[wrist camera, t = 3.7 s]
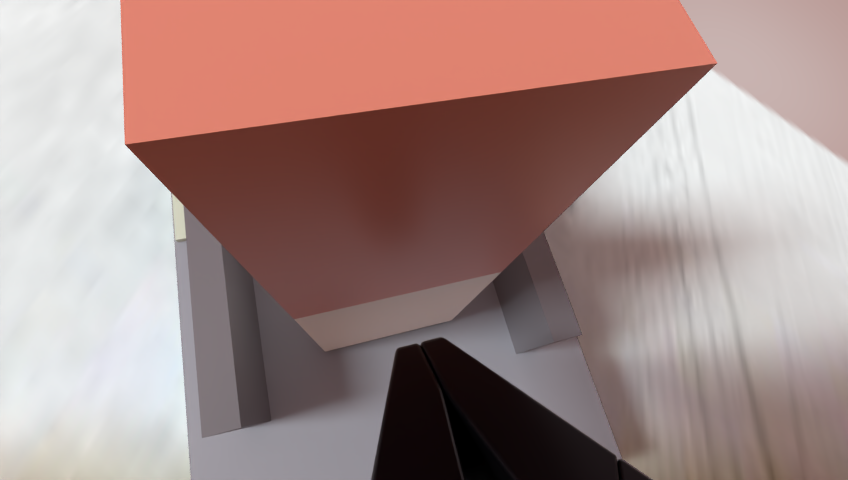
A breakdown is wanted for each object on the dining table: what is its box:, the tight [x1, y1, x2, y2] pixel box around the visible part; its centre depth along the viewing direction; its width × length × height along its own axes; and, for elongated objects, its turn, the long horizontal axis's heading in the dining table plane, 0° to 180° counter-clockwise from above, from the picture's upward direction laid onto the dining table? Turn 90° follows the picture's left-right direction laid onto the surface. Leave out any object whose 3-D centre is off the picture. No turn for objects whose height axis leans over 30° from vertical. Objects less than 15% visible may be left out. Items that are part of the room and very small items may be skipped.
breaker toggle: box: [121, 0, 717, 352], centre depth 8 cm, size 3×4×11 cm
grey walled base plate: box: [171, 193, 622, 480], centre depth 13 cm, size 15×12×4 cm
